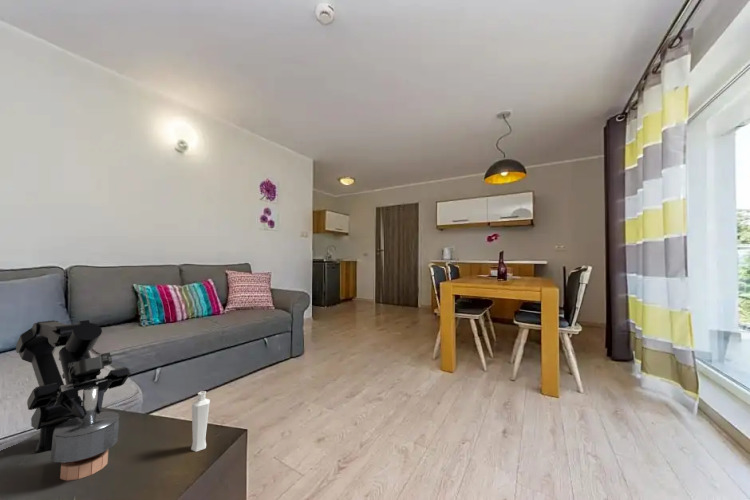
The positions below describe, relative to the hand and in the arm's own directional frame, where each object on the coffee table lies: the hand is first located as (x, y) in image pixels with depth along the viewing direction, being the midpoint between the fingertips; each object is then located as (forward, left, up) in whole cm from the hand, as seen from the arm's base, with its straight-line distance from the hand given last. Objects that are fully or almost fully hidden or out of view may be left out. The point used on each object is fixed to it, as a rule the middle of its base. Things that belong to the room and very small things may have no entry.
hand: (91, 415), depth 76 cm
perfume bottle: (+8, +23, -13) cm, 28 cm away
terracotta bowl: (-1, 0, -13) cm, 13 cm away
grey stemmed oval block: (-1, 0, -8) cm, 8 cm away
